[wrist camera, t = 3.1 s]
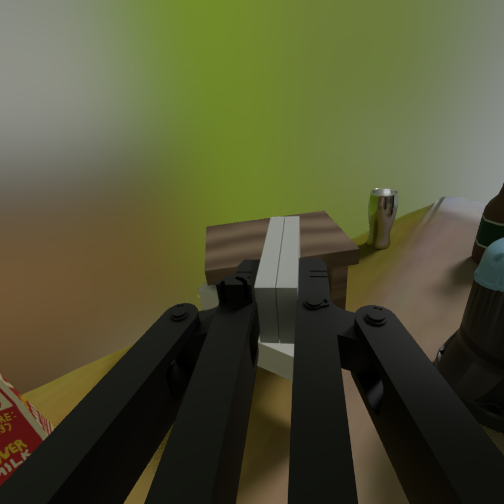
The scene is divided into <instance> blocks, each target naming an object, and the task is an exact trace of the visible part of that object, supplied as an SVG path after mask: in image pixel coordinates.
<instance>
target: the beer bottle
mask: <svg viewBox="0 0 504 504" xmlns="http://www.w3.org/2000/svg"><path fill="white" fill-rule="evenodd" d="M501 238H504V184H503V187H502V189H501V190H500V192H499V194H498V195H497V196H496V197H494V198H493V199H492V200H491V201H490V202H489V203H488V204H487V206H486V207H485V210H484V212H483V215H482V218H481V222H480V225H479V229H478V232H477V236H476V239H475V243H474V246H473V250H472V257H473V260H474V262H476V263H478V264H480V261H481V259H482V256H483V254H484V252H485V250H486V249H487V247H488V246H489V245H491V244H492V243H493V242H495V241H497V240H499V239H501Z"/></svg>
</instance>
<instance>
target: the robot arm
mask: <svg viewBox="0 0 504 504" xmlns="http://www.w3.org/2000/svg"><path fill="white" fill-rule="evenodd" d="M216 289H217V295H218V300H219V304H218V306H217V307H215V308H212V309H208V310H203V311H198V309H197V308H196V307H195V305H192V304H190V303H182V304H177V305H175V306H173V307H171V308H169V309H168V310H167V311H165V313H164V314H163V315H162V316H161V317H160V318H159V319H158V320H157V321H156V322H155V323H154V324H153V325H152V326H151V327H150V328H149V330H147V332H146V333H145V334H144V335H143V336H142V337H141V338H140V339H139V340H138V341H137V342H136V343H135V344H134V345H133V346H132V347H131V348H130V350H129V351H128V352H127V353H126V354H125V355H124V356H123V357H122V358H121V359H120V360H119V361H118V362H117V363H116V364H115V365H114V367H113V368H112V369H111V370H110V371H109V372H108V373H107V374H106V375H105V376H104V377H103V378H102V379H101V380H100V381H99V382H98V383H97V385H96V386H95V387H94V388H93V389H92V390H91V391H90V392H89V393H88V394H87V395H86V396H85V397H84V398H83V399H82V400H81V401H80V403H79V404H78V405H77V406H76V407H75V408H74V409H73V410H72V411H71V412H70V413H69V414H68V415H67V416H66V417H65V418H64V419H63V421H62V422H61V423H60V424H59V425H58V426H57V427H56V428H55V429H54V430H53V431H52V432H51V433H50V434H49V435H48V436H47V437H46V439H45V440H44V441H43V442H42V443H41V444H40V445H39V446H38V447H37V448H36V449H35V450H34V451H33V452H32V453H31V454H30V455H29V457H28V458H27V459H26V460H25V461H24V462H23V463H22V464H21V465H20V466H19V467H18V468H17V469H16V470H15V471H14V472H13V473H12V475H11V476H10V477H9V478H8V479H7V480H6V481H5V482H4V483H3V484H2V485H1V486H0V504H123V503H124V501H125V500H126V498H127V497H128V495H129V493H130V492H131V490H132V489H133V487H134V485H135V484H136V482H137V481H138V479H139V477H140V476H141V474H142V473H143V471H144V469H145V468H146V466H147V465H148V463H149V461H150V460H151V458H152V457H153V455H154V453H155V452H156V450H157V448H158V447H159V445H160V444H161V442H162V440H163V439H164V437H165V436H166V434H167V432H168V431H169V429H170V428H171V426H172V424H173V423H174V425H173V428H172V430H171V433H170V436H169V438H168V441H167V444H166V446H165V449H164V452H163V454H162V457H161V460H160V463H159V465H158V468H157V471H156V473H155V476H154V479H153V481H152V484H151V487H150V490H149V492H148V495H147V498H146V500H145V503H144V504H236V498H237V492H238V486H239V479H240V473H241V466H242V460H243V453H244V447H245V440H246V434H247V427H248V421H249V415H250V408H251V402H252V395H253V389H254V382H255V376H256V369H257V363H258V356H259V348H258V340H259V335H260V343H279V339H280V343H282V344H294V361H293V385H292V410H291V434H290V459H289V483H288V504H358V498H357V490H356V482H355V474H354V466H353V458H352V450H351V442H350V434H349V426H348V418H347V410H346V402H345V394H344V387H343V379H342V371H341V368H343V369H346V370H349V371H351V375H352V377H353V380H354V382H355V384H356V386H357V388H358V391H359V393H360V395H361V397H362V399H363V402H364V404H365V406H366V408H367V410H368V413H369V415H370V417H371V419H372V421H373V424H374V426H375V428H376V430H377V433H378V435H379V437H380V439H381V441H382V444H383V446H384V448H385V450H386V452H387V455H388V457H389V459H390V461H391V463H392V466H393V468H394V470H395V472H396V474H397V477H398V479H399V481H400V483H401V485H402V488H403V490H404V492H405V494H406V496H407V499H408V501H409V503H410V504H504V456H503V454H502V453H501V452H500V450H499V449H498V448H497V447H496V445H495V444H494V443H493V441H492V440H491V439H490V437H489V436H488V435H487V434H486V432H485V431H484V430H483V428H482V427H481V426H480V424H479V423H481V424H483V425H485V426H487V427H489V428H492V429H494V430H497V431H499V432H502V433H504V238H501V239H499V240H497V241H495V242H493V243H492V244H491V245H489V246H488V247H487V249H486V250H485V252H484V254H483V256H482V259H481V261H480V264H479V266H478V268H477V269H476V270H475V272H474V282H473V285H472V288H471V292H470V295H469V298H468V302H467V305H466V308H465V312H464V315H463V318H462V322H461V325H460V328H459V329H458V330H457V331H456V332H455V333H454V334H453V335H452V336H451V337H450V338H449V339H448V340H447V341H446V342H445V343H444V344H443V345H442V346H441V348H440V349H439V351H438V353H437V356H436V360H435V363H434V365H433V363H432V362H431V361H430V360H429V358H428V357H427V356H426V354H425V353H424V352H423V350H422V349H421V348H420V347H419V345H418V344H417V343H416V341H415V340H414V339H413V337H412V336H411V335H410V334H409V332H408V331H407V330H406V328H405V327H404V326H403V324H402V323H401V322H400V321H399V319H398V318H397V317H396V315H395V314H393V313H392V312H391V311H390V310H388V309H386V308H384V307H380V306H376V305H367V306H364V307H361V308H359V309H358V310H357V311H356V313H353V312H349V311H346V310H343V309H341V308H339V307H337V306H336V305H335V304H334V303H333V302H332V300H331V298H330V291H329V283H328V275H327V267H326V263H325V262H324V261H323V260H322V259H321V258H300V222H299V216H287V217H271V218H270V222H269V227H268V231H267V235H266V239H265V244H264V248H263V252H262V256H261V259H244V260H243V261H242V262H241V263H240V264H239V265H238V267H237V270H236V273H235V275H230V276H227V277H224V278H222V279H221V280H219V281H218V282H217V284H216ZM174 421H175V422H174ZM477 421H478V422H479V423H478V422H477Z"/></svg>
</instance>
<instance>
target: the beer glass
mask: <svg viewBox="0 0 504 504" xmlns="http://www.w3.org/2000/svg"><path fill="white" fill-rule="evenodd" d="M397 206H398V191H397V190H395V189H391V188H377V189H373V190H371V192H370V199H369V205H368V220H369V236H368V239H367V245H368V246H369V247H371V248H374V249H385V248H388V247H389V246H390V232H391V228H392V225H393V222H394V219H395V216H396V212H397Z"/></svg>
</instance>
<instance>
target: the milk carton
mask: <svg viewBox="0 0 504 504" xmlns="http://www.w3.org/2000/svg"><path fill="white" fill-rule="evenodd" d="M53 430H54V429H53V425H52V424H51V423H50V422H49V421H48V420H47V419H46V418H44V417H43V416H42V415H41V414H40V413H39V412H38V411H37V410H36V409H35V408H34V407H33V406H32V405H31V404H30V403H29V402H28V401H27V400H26V399H25V398H24V397H23V396H22V395H21V394H20V393H19V392H18V391H17V390H15V389H14V388H13V386H12V385H11V384H10V383H9V382H8V381H7V380H6V378H5V377H4V376H3V375H2V374H1V372H0V486H1V485H2V484H3V483H4V482H5V481H6V480H7V479H8V478H9V477H10V476H11V475H12V473H13V472H14V471H15V470H16V469H17V468H18V467H19V466H20V465H21V464H22V463H23V462H24V461H25V460H26V459H27V458H28V457H29V455H30V454H31V453H32V452H33V451H34V450H35V449H36V448H37V447H38V446H39V445H40V444H41V443H42V442H43V441H44V440H45V439H46V437H47V436H48V435H49V434H50V433H51V432H52V431H53Z"/></svg>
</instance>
